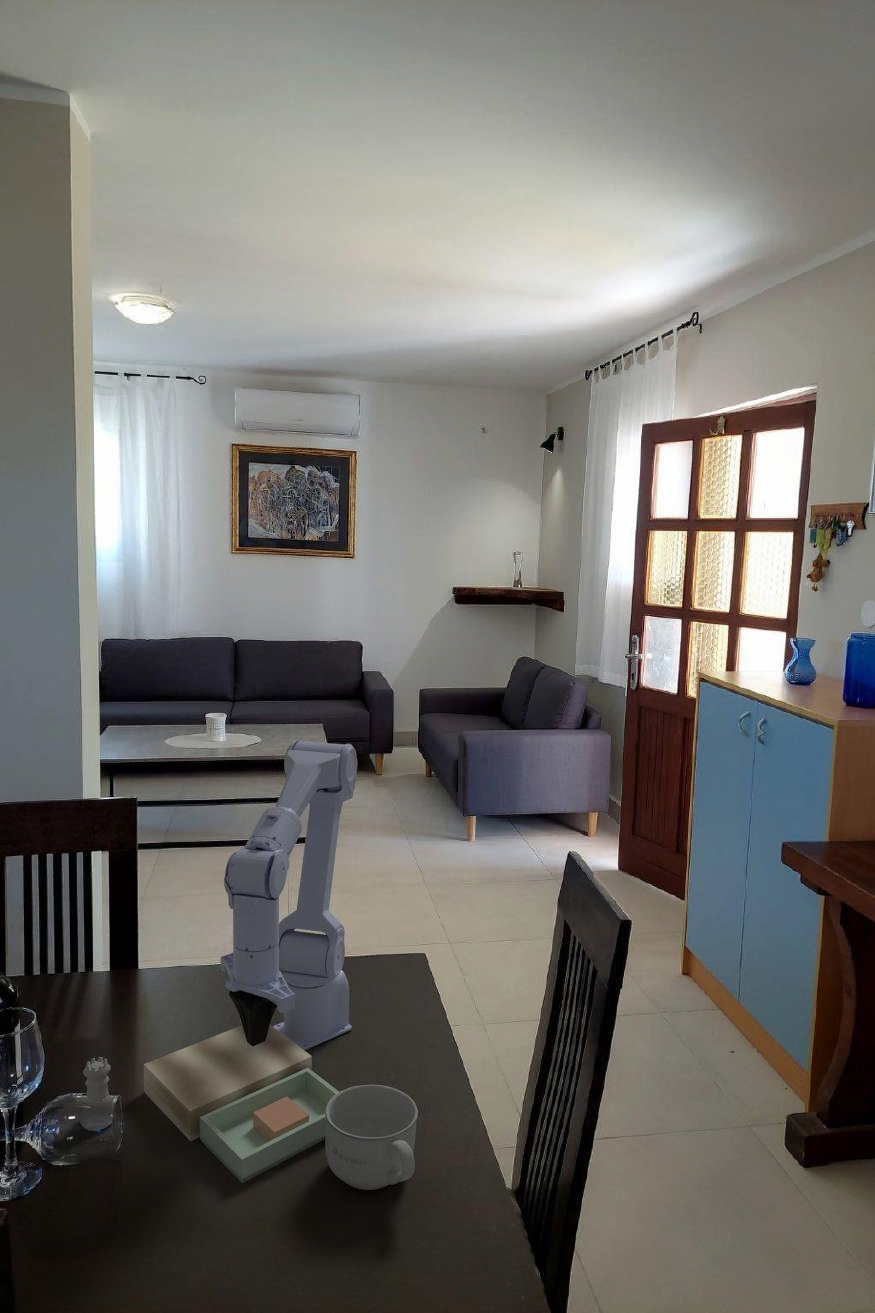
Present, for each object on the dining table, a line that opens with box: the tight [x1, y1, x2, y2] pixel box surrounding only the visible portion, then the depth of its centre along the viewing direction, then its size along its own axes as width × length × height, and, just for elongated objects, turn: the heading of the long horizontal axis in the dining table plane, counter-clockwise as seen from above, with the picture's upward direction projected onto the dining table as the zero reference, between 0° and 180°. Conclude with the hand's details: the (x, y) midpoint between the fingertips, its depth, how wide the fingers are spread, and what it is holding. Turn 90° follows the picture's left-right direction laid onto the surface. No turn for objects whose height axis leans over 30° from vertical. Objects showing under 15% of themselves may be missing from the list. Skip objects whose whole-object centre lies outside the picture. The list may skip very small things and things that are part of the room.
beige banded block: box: [143, 1024, 313, 1142], centre depth 119 cm, size 18×13×4 cm
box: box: [199, 1068, 340, 1184], centre depth 111 cm, size 16×10×3 cm, turn 133°
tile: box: [253, 1097, 309, 1141], centre depth 111 cm, size 5×5×2 cm
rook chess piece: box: [82, 1056, 112, 1102], centre depth 111 cm, size 4×4×8 cm
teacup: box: [324, 1084, 419, 1191], centre depth 102 cm, size 14×11×8 cm
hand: (256, 1041), depth 114 cm, fingers closed
